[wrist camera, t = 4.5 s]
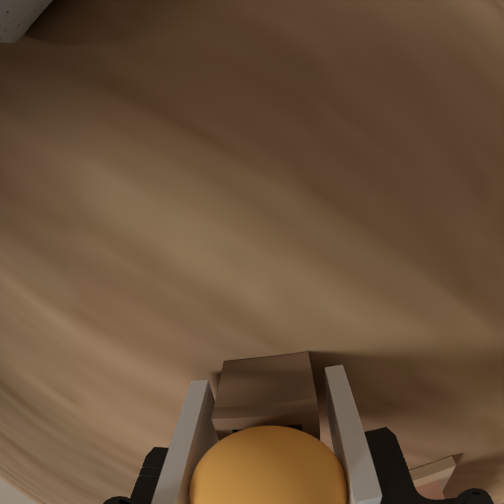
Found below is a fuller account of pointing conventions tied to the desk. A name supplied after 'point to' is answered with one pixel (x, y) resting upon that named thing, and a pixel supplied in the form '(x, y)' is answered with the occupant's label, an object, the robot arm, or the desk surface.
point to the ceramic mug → (18, 17)
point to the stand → (266, 395)
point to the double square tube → (433, 478)
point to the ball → (269, 470)
